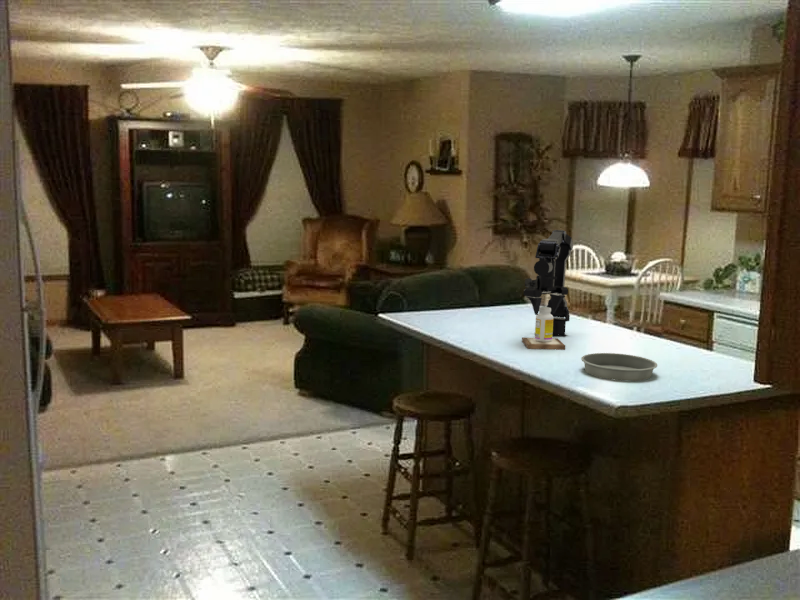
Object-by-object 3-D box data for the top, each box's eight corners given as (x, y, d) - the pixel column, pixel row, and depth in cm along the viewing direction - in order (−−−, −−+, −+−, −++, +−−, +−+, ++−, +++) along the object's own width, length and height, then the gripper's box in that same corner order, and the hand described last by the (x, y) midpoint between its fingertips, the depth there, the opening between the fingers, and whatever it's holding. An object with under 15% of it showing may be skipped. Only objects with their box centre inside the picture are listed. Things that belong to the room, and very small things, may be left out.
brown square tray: (557, 342, 325) (557, 337, 325) (565, 349, 311) (565, 345, 311) (521, 341, 325) (522, 336, 324) (528, 348, 311) (528, 344, 311)
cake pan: (611, 385, 260) (612, 371, 259) (565, 368, 282) (566, 355, 281) (672, 379, 270) (673, 366, 269) (624, 363, 292) (625, 351, 291)
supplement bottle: (554, 340, 319) (556, 307, 318) (549, 343, 313) (551, 309, 312) (537, 338, 322) (539, 305, 320) (532, 341, 316) (534, 308, 314)
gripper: (548, 270, 326) (546, 309, 328) (514, 272, 315) (512, 312, 317) (570, 273, 317) (567, 313, 319) (535, 275, 306) (533, 316, 308)
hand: (544, 313), depth 316 cm, fingers open, 9 cm apart
